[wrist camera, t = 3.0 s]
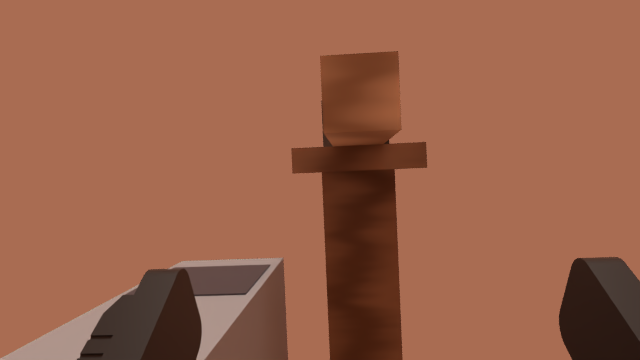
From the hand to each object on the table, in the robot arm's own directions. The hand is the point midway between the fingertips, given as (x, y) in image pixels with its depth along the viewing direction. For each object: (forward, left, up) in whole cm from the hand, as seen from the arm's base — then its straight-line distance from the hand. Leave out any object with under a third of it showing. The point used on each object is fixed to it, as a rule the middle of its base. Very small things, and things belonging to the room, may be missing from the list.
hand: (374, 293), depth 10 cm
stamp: (0, -21, +4) cm, 22 cm away
